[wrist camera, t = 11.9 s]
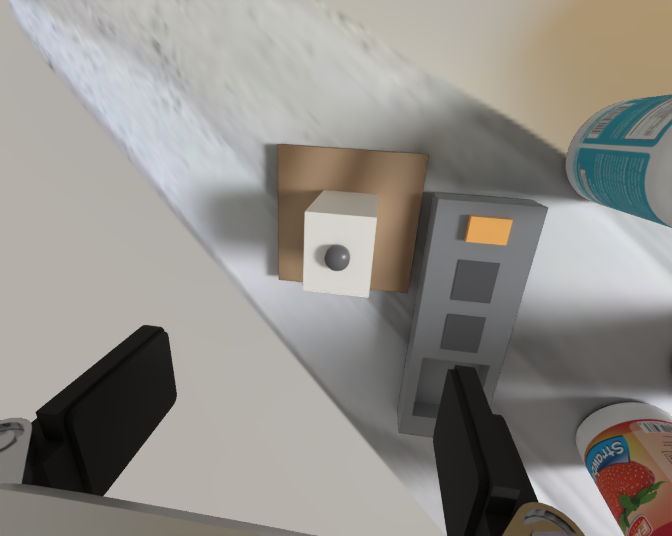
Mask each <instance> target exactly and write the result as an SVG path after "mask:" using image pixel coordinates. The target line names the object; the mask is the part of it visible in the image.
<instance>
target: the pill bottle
mask: <svg viewBox="0 0 672 536" xmlns="http://www.w3.org/2000/svg"><path fill="white" fill-rule="evenodd" d="M566 173H567V177H568V180H569V182H570V184H571V185H572V187H573V188H574V189H575V191H576V192H577V193H578V194H580V195H581V196H582V197H584V198H586V199H588V200H589V201H592V202H595V203H598V204H601V205H604V206H607V207H610V208H613V209H616V210H619V211H622V212H625V213H628V214H631V215H634V216H638V217H641V218H644V219H647V220H650V221H653V222H656V223H659V224H662V225H665V226H668V227H671V228H672V95H664V96H656V97H648V98H641V99H634V100H627V101H622V102H619V103H615V104H613V105H610V106H608V107H606V108H604V109H602V110H601V111H599V112H597V113H596V114H594V115H593V116H592V117H591V118H589V119H588V120H587V121H586V122H585V123H584V124H583V125H582V126H581V128H580V129H579V130H578V131H577V133H576V134H575V136H574V138H573V140H572V141H571V143H570V146H569V148H568V152H567V157H566Z"/></svg>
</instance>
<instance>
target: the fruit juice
mask: <svg viewBox="0 0 672 536" xmlns="http://www.w3.org/2000/svg"><path fill="white" fill-rule="evenodd" d="M576 446H577V449H578V452H579V454H580V457H581V459H582V460H583V462H584V464H585V466H586V468H587V469H588V471H589V473H590V475H591V477H592V478H593V480H594V482H595V484H596V486H597V487H598V489H599V491H600V493H601V494H602V496H603V498H604V500H605V502H606V503H607V505H608V507H609V509H610V511H611V512H612V514H613V516H614V518H615V520H616V521H617V523H618V525H619V527H620V528H621V530H622V532H623V534H624V536H672V416H671V415H670V414H668V413H667V412H665V411H664V410H662V409H660V408H658V407H655V406H652V405H649V404H644V403H635V402H629V403H619V404H614V405H610V406H607V407H604V408H602V409H600V410H598V411H596V412H594V413H592V414H591V415H590V416H588V417H587V418H586V419H585V420H584V421H583V422H582V423H581V425H580V426H579V428H578V430H577V433H576Z"/></svg>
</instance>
